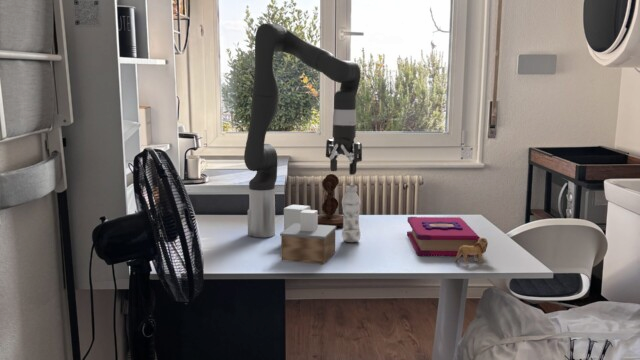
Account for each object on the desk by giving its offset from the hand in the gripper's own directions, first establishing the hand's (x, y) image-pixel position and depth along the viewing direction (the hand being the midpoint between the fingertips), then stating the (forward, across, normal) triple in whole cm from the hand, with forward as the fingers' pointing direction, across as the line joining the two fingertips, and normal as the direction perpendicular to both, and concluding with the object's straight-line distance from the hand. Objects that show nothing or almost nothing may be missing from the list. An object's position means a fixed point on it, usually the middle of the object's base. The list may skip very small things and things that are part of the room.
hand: (343, 172), depth 200 cm
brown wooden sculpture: (+27, -28, +22) cm, 44 cm away
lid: (+18, -2, -13) cm, 23 cm away
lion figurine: (+26, +37, +21) cm, 50 cm away
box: (+26, -2, -13) cm, 29 cm away
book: (+26, +18, +31) cm, 45 cm away
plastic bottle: (+26, -5, +10) cm, 29 cm away
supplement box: (+27, -18, -4) cm, 33 cm away
